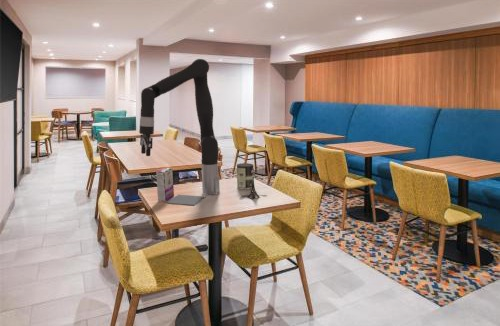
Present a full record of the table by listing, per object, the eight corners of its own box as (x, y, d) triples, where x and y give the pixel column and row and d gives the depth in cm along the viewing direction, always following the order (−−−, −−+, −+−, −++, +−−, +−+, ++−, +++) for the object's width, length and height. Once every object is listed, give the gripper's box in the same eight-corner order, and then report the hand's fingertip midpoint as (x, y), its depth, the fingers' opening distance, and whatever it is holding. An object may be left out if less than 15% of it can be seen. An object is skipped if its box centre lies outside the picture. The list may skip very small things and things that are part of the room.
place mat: (206, 197, 207) (206, 196, 207) (194, 205, 192) (194, 204, 192) (178, 195, 212) (178, 194, 212) (164, 203, 197) (164, 202, 197)
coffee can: (253, 185, 234) (253, 163, 231) (253, 189, 224) (253, 166, 221) (237, 185, 234) (236, 163, 231) (236, 189, 224) (236, 166, 221)
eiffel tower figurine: (267, 196, 211) (267, 172, 209) (266, 201, 201) (266, 176, 199) (241, 195, 212) (241, 172, 210) (239, 200, 203) (238, 176, 200)
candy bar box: (166, 195, 211) (164, 167, 208) (174, 196, 210) (172, 167, 207) (157, 201, 200) (155, 171, 197) (166, 201, 199) (164, 171, 196)
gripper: (157, 126, 198) (156, 156, 200) (149, 124, 209) (148, 152, 212) (143, 126, 194) (142, 157, 196) (136, 123, 205) (135, 152, 208)
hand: (145, 154), depth 204 cm, fingers open, 8 cm apart
